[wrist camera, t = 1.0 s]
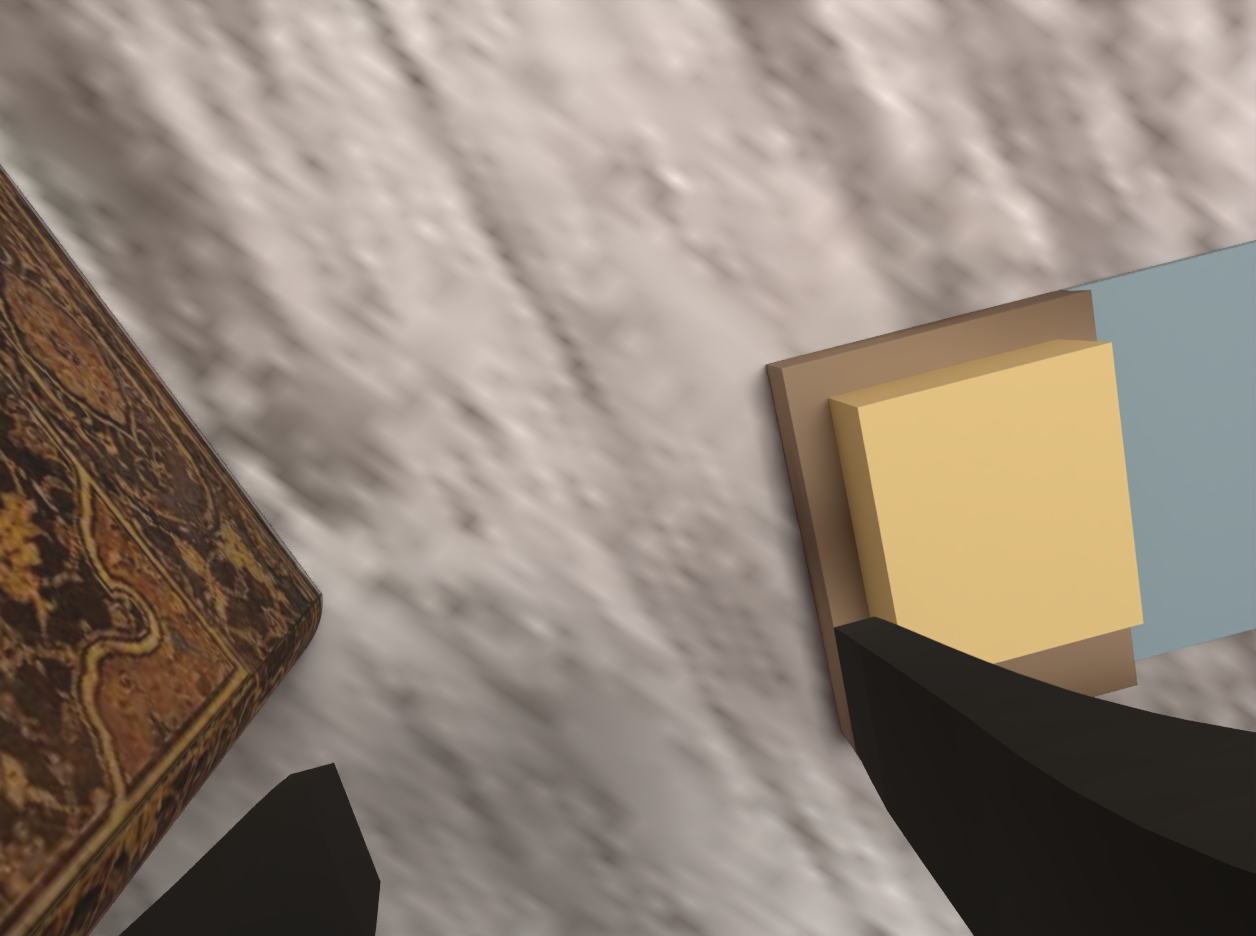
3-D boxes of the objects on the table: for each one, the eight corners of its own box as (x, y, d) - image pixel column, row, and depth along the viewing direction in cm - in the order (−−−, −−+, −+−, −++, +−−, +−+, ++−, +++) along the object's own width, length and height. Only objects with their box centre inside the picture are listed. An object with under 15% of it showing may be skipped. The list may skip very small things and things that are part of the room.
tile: (1090, 594, 21) (1143, 623, 19) (876, 651, 21) (908, 686, 19) (1058, 339, 20) (1111, 342, 18) (828, 397, 20) (857, 407, 18)
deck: (1101, 661, 24) (1137, 685, 22) (841, 731, 23) (860, 759, 22) (1054, 291, 21) (1091, 289, 20) (766, 364, 21) (781, 368, 20)
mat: (1371, 588, 24) (1384, 593, 23) (1104, 660, 24) (1113, 666, 23) (1353, 215, 22) (1368, 213, 21) (1058, 290, 21) (1067, 290, 21)
